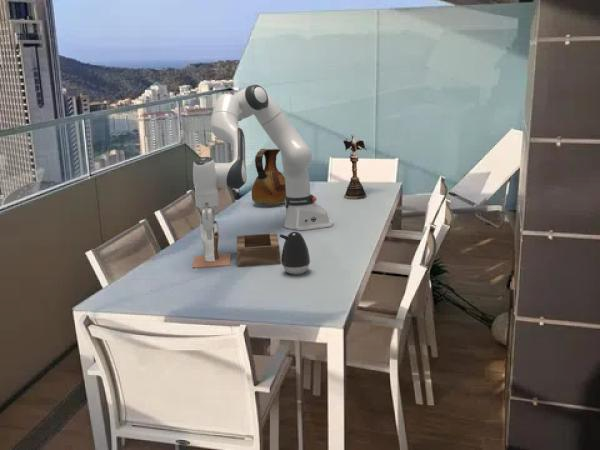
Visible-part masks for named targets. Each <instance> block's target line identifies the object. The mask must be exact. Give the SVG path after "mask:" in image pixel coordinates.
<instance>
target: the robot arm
mask: <svg viewBox="0 0 600 450" xmlns="http://www.w3.org/2000/svg"><path fill="white" fill-rule="evenodd" d="M216 99H217V100H216V101H215V104H214V106H213V110H212V113H211V115H210V116H211V117H210V123H209V128H210V130H211V133H212V134H213V136H214V137H215V138H217V139H218V140H221V141H223V142H225V143H229V144H230V145H232V146H233V147H232V148H233V149H232V150H233V160H232V161H230V162H215V161H214V159H213V157H209V156H202V157H198V158H196V159H195V160H194V161H193V163H192V164H193V165H192V180H193V182H192V183H193V185H194V201H195V207H196V208H199V209H198V210H199V212H201V220H202V221H201V222H202V223H203V230H204V231H206V234H207V239H208V240H212V230H213V226H214V221H216V220H215V218H216V210H217V206H220V197H219V190H218V189H227V188H228V189H234V190H240V189H241V188H242V187H243V186H244V185H245V184H246V183H247V168H246V141H245V139H246V138H245V133H244V130H243V129H242V128H241V127H239V122H241V121H242V120H244V119H247V118H249V117H251V116H254V117H255V118H256V120H257V122H258V123H259V125H260V126H261V128H262V129H263V130H264V132H265V133H266V134H267V135H268V137H269V139H270V140H271V141H272V143H273V144H274V145H275V146H276V147H277V149H279V150H280V151H279V152H280V155H281V163H282V164H281V165H282V168H283V169H282V170H283V174H284V175H283V176H284V177H285V188H286V196H285V202H284V206H285V217H284V218H285V221H284V224H283V226H284V228H286V229H292V230H297V231H307V230H308V231H309V230H315V229H323V228H331V227H332V226H333V225H334V222H333V220H332V219H331V218H329V216H328V212H327V211H326V209H325V208H324V207H322V206H320V205H319V204H317V203H316V201H317V197H316V196H315V195H313V194H311V188H310V187H311V186H310V176H309V172H308V167H307V166H308V165H309V164H310V163H311V161H312V159H313V153H312V150H311V148H310V147H309V145H308V144H307V143H306V141H305V140H304V139H303V138H302V136H301V135H300V134H299V132H298V131H297V130H296V129H295V127H294V126H293V125H292V124H291V122H290V120H289V119H288V118H287V116H286V115H285V113H284V112H283V111H282V109H281V108H280V106H279V105H278V104H277V103H276V102H275V101H274V99H273V98H272V97H271V96H269V94H267V91H266V89H264V87H262V86H261V85H259V84H252V85H248V86H247V87H245V88H243V89H240V90H239V91H237V92H236V93H235V94H231V93H222V94H221V95H219V96H218V97H217V98H216Z"/></svg>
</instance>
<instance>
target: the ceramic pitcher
mask: <svg viewBox="0 0 600 450" xmlns="http://www.w3.org/2000/svg"><path fill="white" fill-rule="evenodd" d="M279 152H281V151H280V150H279V149H278V148H272V149H271V148H269V149H268V148H260V150H258V152H256V155H255V158H254V162H255V163H254V165H255V168H256V173H257V176H256V178H255V180H254V182H253V185H252V188H251V199H252V201H253V202H254V203H257V204H260V205H264V206H278V205H280V204H283V203H285V196H286V188H285V176H284V175H283V174H282V172H281V171H279V169H278V166H277V156H278V154H279ZM263 157H264V160H265V161H264V162H265V164H263ZM264 165H265V166H264Z"/></svg>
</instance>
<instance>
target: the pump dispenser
mask: <svg viewBox="0 0 600 450" xmlns="http://www.w3.org/2000/svg"><path fill="white" fill-rule="evenodd" d="M279 238H281V239H284V240H285V241H284V244H283V247H282V251H281V265H282V267H283V269H284V271H285V272H286V273H287V274H290V275H294V276H296V275H302V274H304V273H305V272H306V271H307V270H308V269H309V265H310V264H311V258H310V257H311V256H310V252H309V248H308V245H307V242H306V240H305V238H304V237H303V235H302V234H301V232H298V231H295V230H294V231H290V233H288V234H287V235H285V234H283V233H282V234H279Z"/></svg>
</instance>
